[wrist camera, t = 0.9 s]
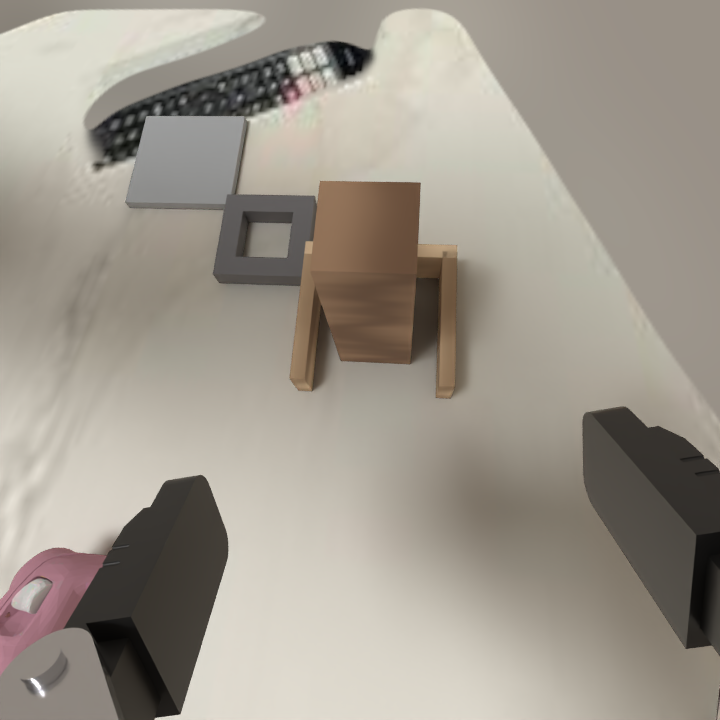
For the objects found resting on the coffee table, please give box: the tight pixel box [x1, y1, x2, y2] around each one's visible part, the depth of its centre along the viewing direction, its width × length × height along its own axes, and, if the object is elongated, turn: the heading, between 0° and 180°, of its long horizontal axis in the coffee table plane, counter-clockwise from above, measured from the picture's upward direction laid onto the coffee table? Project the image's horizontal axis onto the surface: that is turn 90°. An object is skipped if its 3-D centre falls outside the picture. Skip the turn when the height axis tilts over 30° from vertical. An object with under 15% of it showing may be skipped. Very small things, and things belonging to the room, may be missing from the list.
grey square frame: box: [213, 194, 317, 286], centre depth 32 cm, size 6×6×1 cm
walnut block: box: [310, 181, 421, 364], centre depth 25 cm, size 4×4×11 cm
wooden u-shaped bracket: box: [290, 241, 457, 398], centre depth 29 cm, size 9×8×2 cm
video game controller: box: [0, 548, 107, 676], centre depth 23 cm, size 10×5×7 cm, turn 164°
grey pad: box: [125, 116, 247, 209], centre depth 35 cm, size 7×7×1 cm
